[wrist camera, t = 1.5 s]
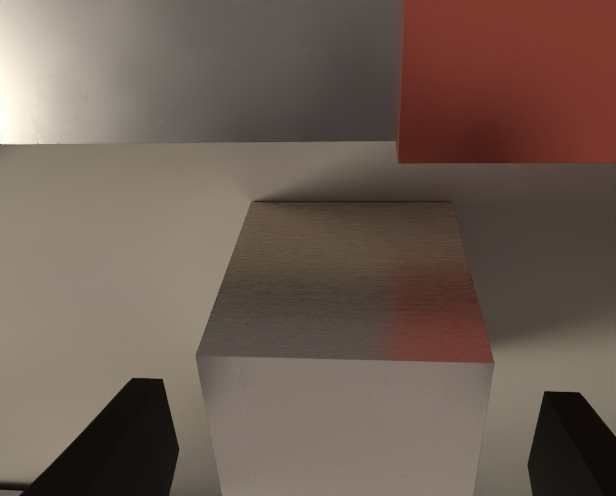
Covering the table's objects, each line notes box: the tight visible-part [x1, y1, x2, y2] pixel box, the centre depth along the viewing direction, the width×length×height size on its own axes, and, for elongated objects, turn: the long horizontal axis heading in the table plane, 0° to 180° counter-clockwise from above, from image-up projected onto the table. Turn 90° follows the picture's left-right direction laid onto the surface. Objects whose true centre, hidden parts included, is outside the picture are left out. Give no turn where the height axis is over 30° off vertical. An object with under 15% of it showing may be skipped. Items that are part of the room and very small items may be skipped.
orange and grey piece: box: [0, 0, 616, 163], centre depth 11 cm, size 6×22×4 cm, turn 92°
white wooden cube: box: [196, 202, 494, 496], centre depth 13 cm, size 5×5×6 cm
